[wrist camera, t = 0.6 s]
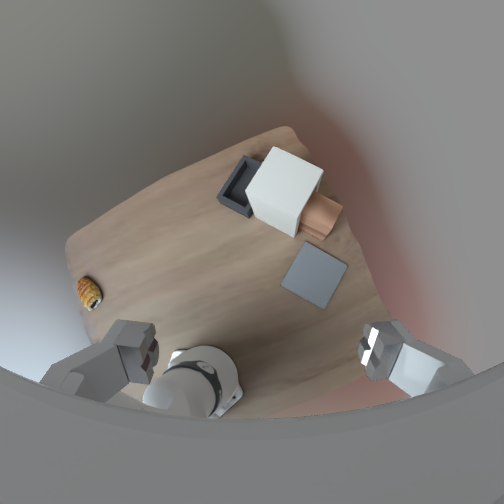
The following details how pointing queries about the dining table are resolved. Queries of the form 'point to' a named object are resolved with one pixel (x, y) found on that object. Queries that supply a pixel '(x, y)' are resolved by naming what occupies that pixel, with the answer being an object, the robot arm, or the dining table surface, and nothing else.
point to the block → (319, 215)
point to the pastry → (89, 293)
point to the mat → (314, 275)
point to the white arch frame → (282, 189)
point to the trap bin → (239, 186)
